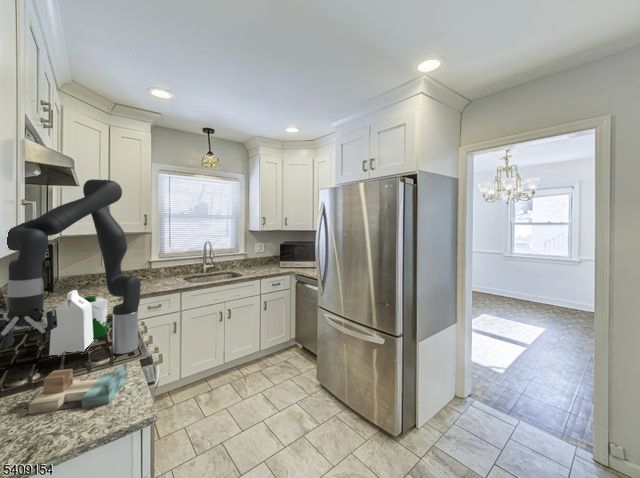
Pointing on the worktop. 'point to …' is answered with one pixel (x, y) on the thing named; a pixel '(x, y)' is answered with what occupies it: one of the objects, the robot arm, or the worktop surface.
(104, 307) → the milk carton
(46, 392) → the block
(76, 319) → the milk
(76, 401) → the pixelated toy pickaxe
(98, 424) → the worktop surface
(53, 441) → the worktop surface
